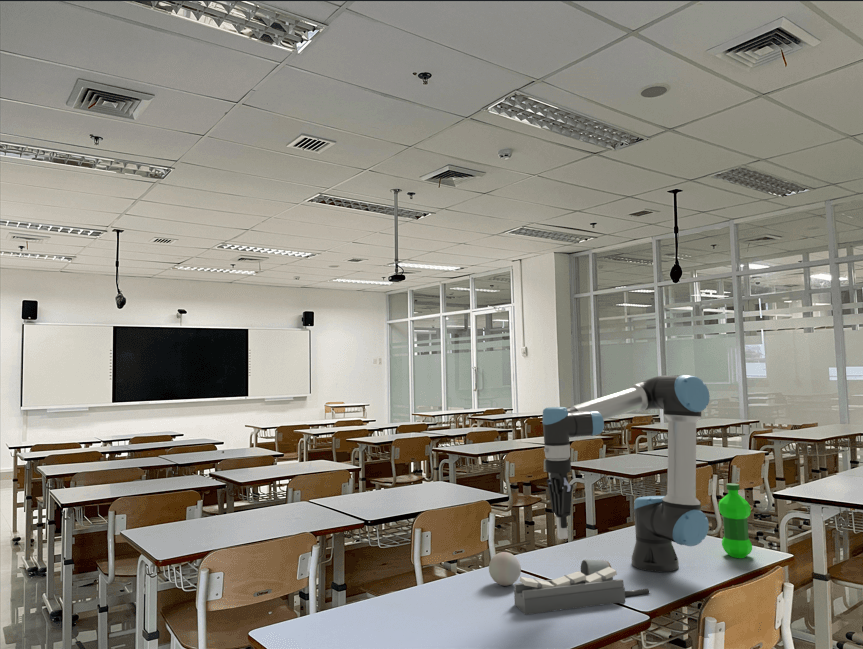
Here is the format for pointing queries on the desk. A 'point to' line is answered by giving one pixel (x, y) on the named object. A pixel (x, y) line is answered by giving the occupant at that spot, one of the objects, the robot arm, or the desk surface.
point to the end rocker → (535, 583)
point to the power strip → (571, 595)
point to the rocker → (601, 575)
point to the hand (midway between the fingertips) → (562, 538)
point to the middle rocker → (569, 579)
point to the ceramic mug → (593, 566)
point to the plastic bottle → (735, 522)
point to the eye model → (504, 568)
